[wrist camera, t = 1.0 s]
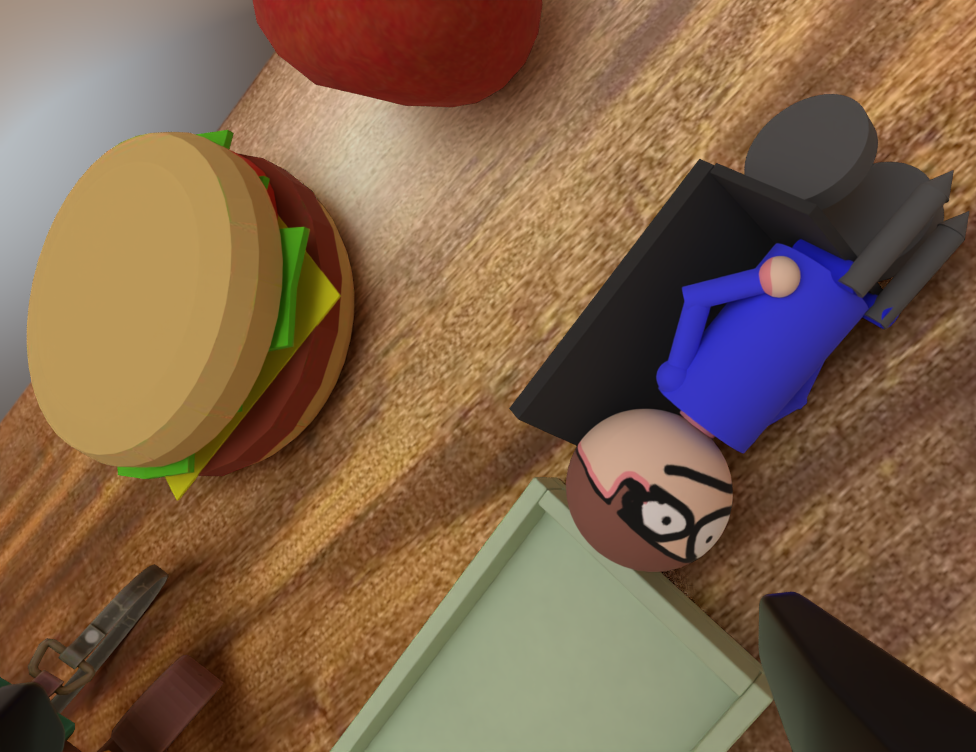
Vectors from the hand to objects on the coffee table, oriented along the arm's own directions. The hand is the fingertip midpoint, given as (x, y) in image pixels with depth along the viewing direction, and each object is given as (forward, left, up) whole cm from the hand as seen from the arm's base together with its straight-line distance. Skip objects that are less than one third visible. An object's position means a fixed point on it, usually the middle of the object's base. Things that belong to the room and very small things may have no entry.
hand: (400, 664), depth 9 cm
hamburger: (+25, +7, -19) cm, 32 cm away
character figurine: (+3, -6, -19) cm, 20 cm away
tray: (+1, +11, -18) cm, 21 cm away
